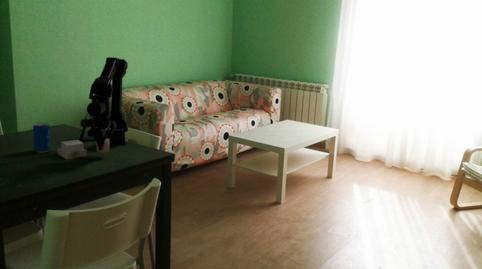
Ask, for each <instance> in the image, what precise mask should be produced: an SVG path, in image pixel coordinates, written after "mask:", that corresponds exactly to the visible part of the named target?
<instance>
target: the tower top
mask: <svg viewBox="0 0 482 269" xmlns="http://www.w3.org/2000/svg"><path fill="white" fill-rule="evenodd" d="M60 144H61V145H60V146H61V147H60V148H61V149H63V150H64V151H65V152H75V151H83V150H84V149H85V148H84V147H85V146H84V143H83V142H82V141H79V139H73V140H64V141H60Z"/></svg>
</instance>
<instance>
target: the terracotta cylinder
mask: <svg viewBox="0 0 482 269" xmlns="http://www.w3.org/2000/svg"><path fill="white" fill-rule="evenodd" d="M95 143H96V144H95V145H96V152H97V153H101V154H102V153H109V152H110V144H109V138H106V140H105V143H104V146H103V149H102V150H99V147H98V145H97V142H95Z"/></svg>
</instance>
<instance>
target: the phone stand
mask: <svg viewBox="0 0 482 269" xmlns="http://www.w3.org/2000/svg"><path fill="white" fill-rule="evenodd" d="M88 117H89V118H93V116H90V115H89V114H88V113H86V115H85V116H84V119H85V118H86V119H88ZM91 128H94V127H93V126H91V127H90V129H91ZM86 131H87V128H86V129H83V128H82V129H81V132H80V135H79V137H78V140H79V141H80V142H82V141H86V142H88V141H89V142H91V141H94V142H95V141H96V139H95V138H94V137H89V136H85V133H86Z"/></svg>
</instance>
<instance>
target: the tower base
mask: <svg viewBox="0 0 482 269" xmlns="http://www.w3.org/2000/svg"><path fill="white" fill-rule="evenodd" d="M56 150H57V155H58V156H60V157H61V158H64V159H65V160H70V159H77V158H81V157H88V150H87V149H85V148H84V150H83V151H75V152H65V151H64V150H63V149H61V147H58V148H56Z"/></svg>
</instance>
